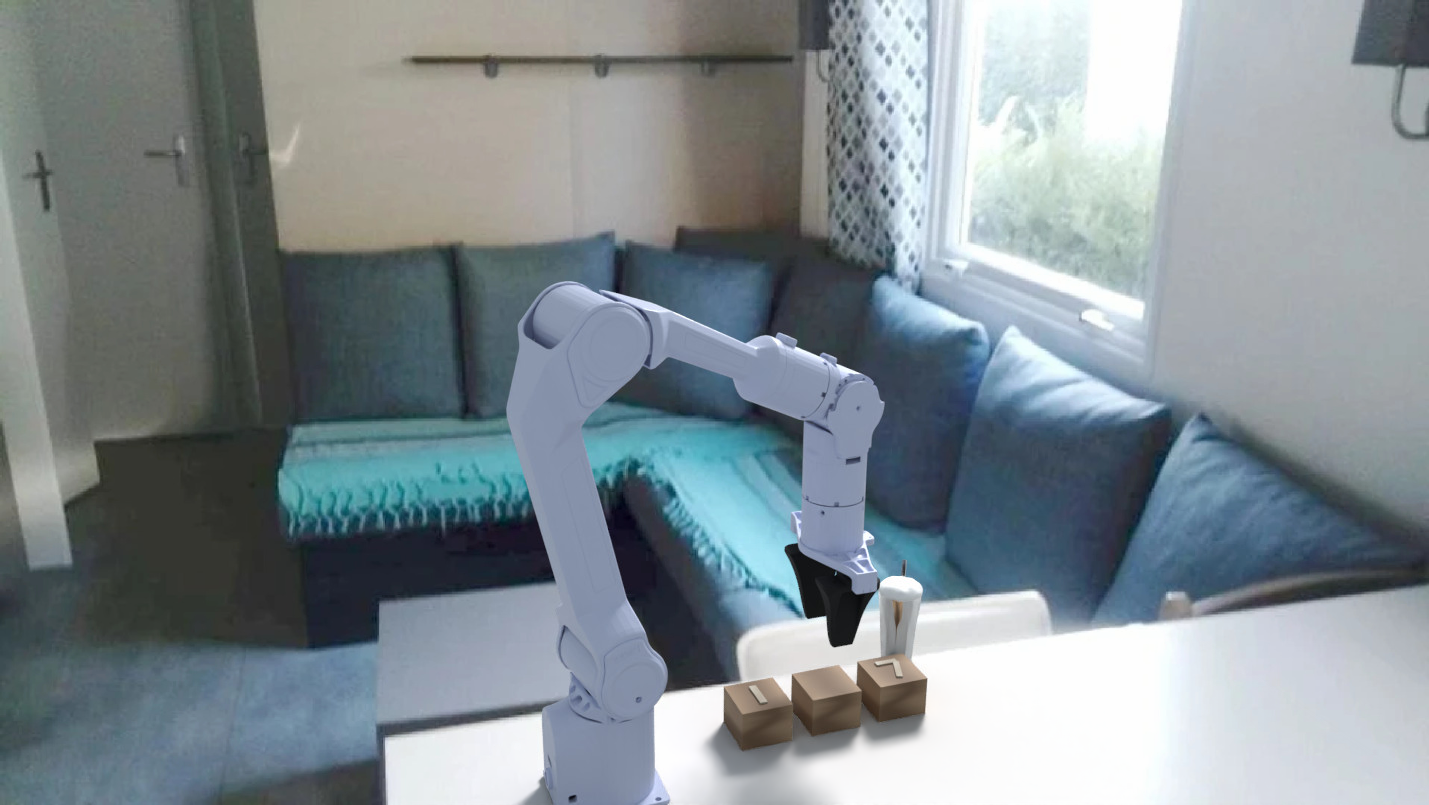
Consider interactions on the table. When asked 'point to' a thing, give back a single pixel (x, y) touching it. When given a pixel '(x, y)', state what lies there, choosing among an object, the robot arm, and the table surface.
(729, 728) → the digit block one
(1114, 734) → the table surface
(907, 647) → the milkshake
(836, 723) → the blank block
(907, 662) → the digit block seven
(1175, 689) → the table surface
